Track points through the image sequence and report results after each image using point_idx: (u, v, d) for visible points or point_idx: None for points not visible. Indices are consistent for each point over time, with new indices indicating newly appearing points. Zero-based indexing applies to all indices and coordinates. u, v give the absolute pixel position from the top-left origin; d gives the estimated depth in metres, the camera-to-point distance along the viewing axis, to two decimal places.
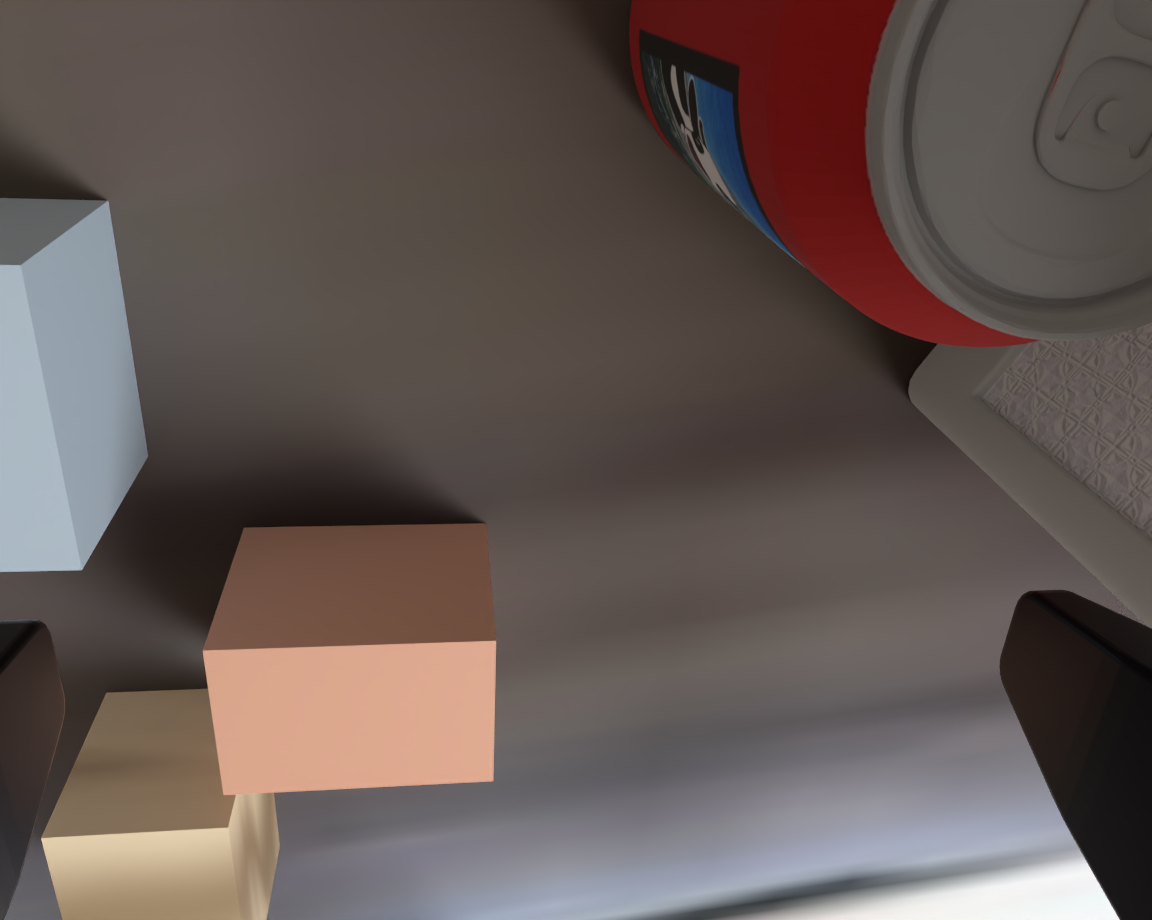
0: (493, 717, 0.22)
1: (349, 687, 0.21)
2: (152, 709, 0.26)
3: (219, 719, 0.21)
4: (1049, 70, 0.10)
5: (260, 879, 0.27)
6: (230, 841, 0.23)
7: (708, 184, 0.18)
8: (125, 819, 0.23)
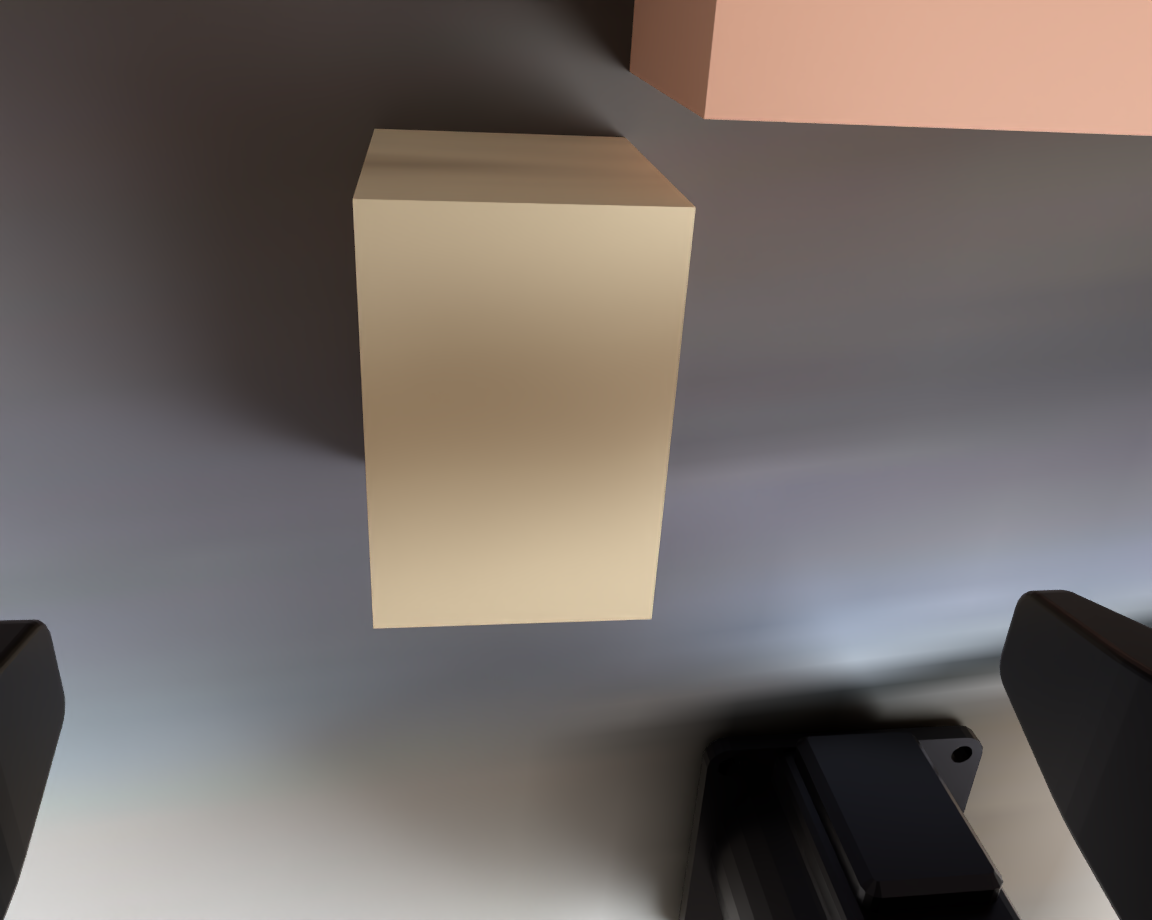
0: None
1: None
2: (462, 139, 0.15)
3: None
4: None
5: None
6: (688, 249, 0.12)
7: None
8: (498, 194, 0.12)
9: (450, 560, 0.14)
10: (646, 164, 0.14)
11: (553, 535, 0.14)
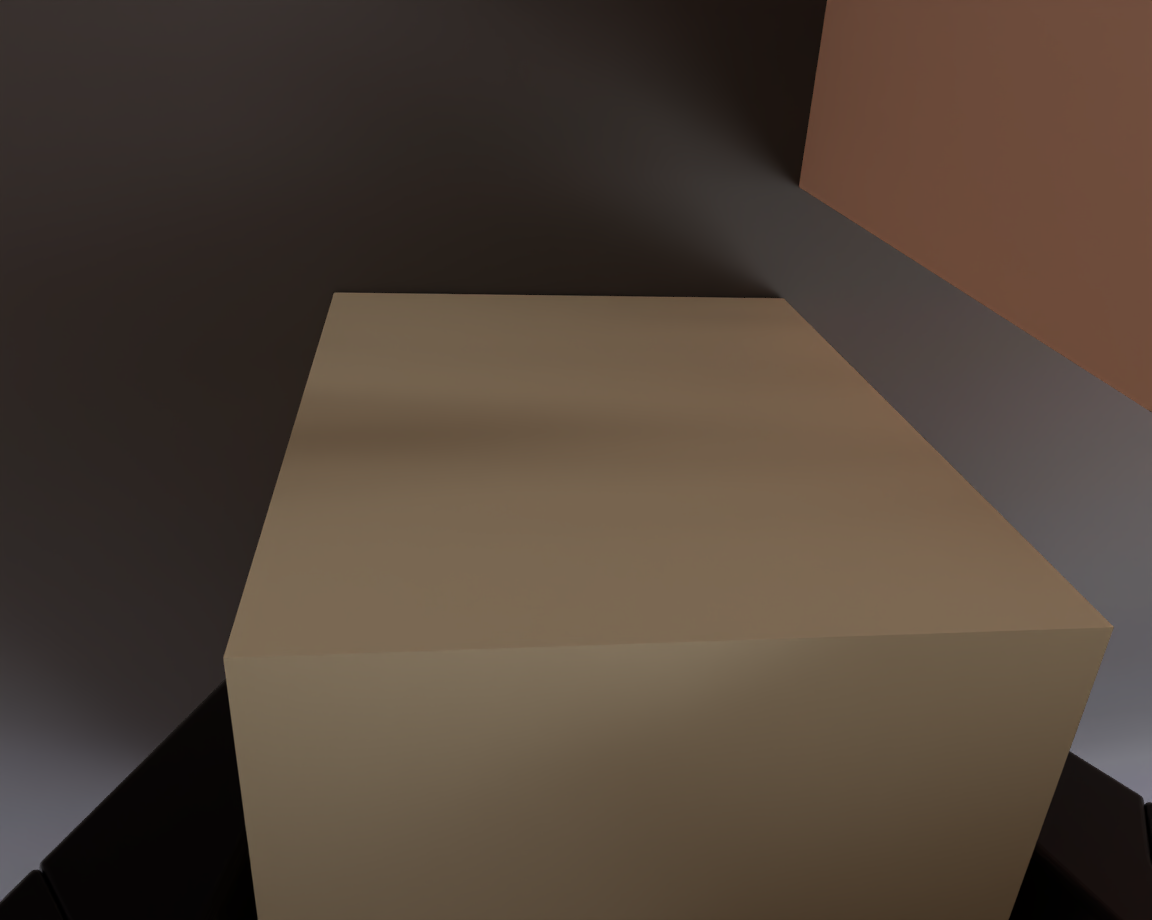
0: None
1: None
2: (497, 327, 0.08)
3: None
4: None
5: None
6: (1073, 707, 0.05)
7: None
8: (607, 591, 0.05)
9: None
10: (877, 404, 0.07)
11: None
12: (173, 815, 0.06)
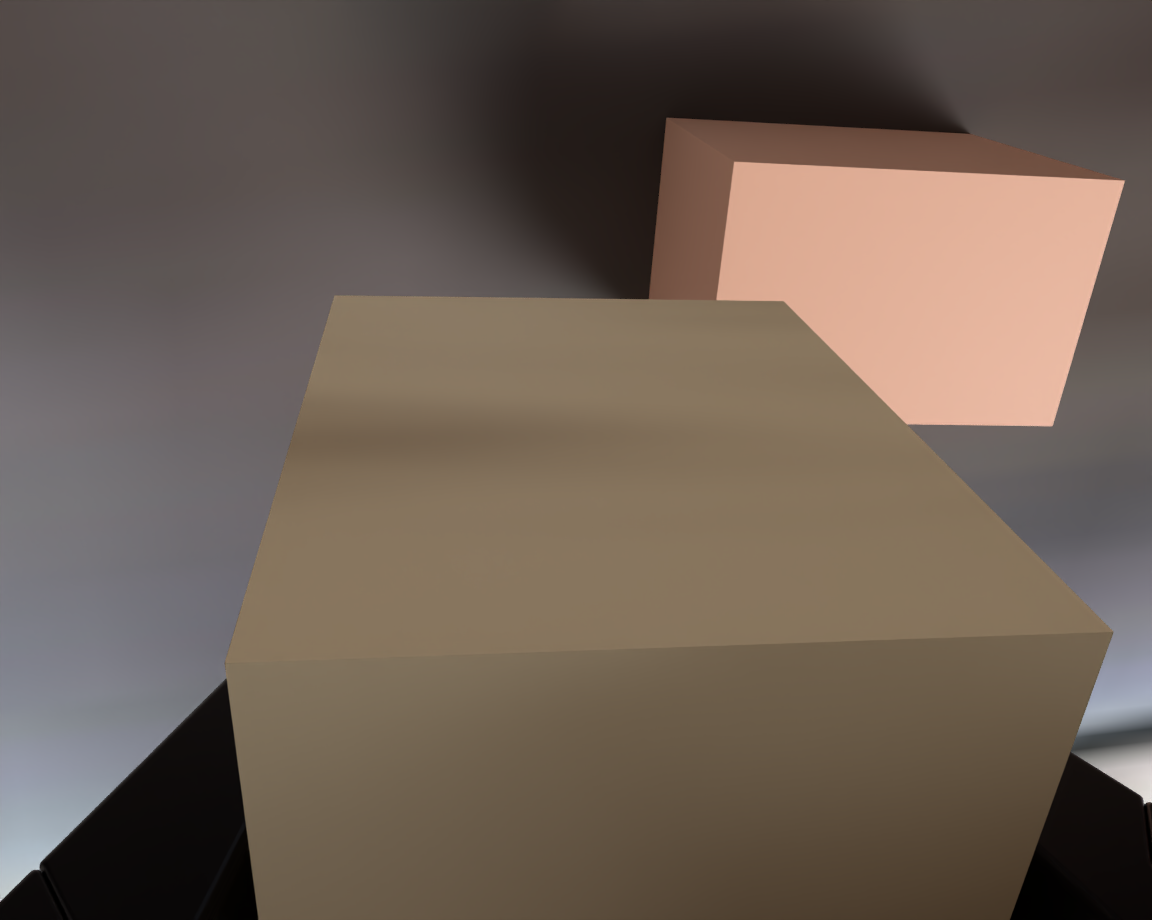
0: (1083, 316, 0.16)
1: (910, 247, 0.15)
2: (497, 330, 0.08)
3: (727, 288, 0.15)
4: None
5: None
6: (1072, 711, 0.05)
7: None
8: (607, 595, 0.05)
9: None
10: (877, 407, 0.07)
11: None
12: (173, 815, 0.06)
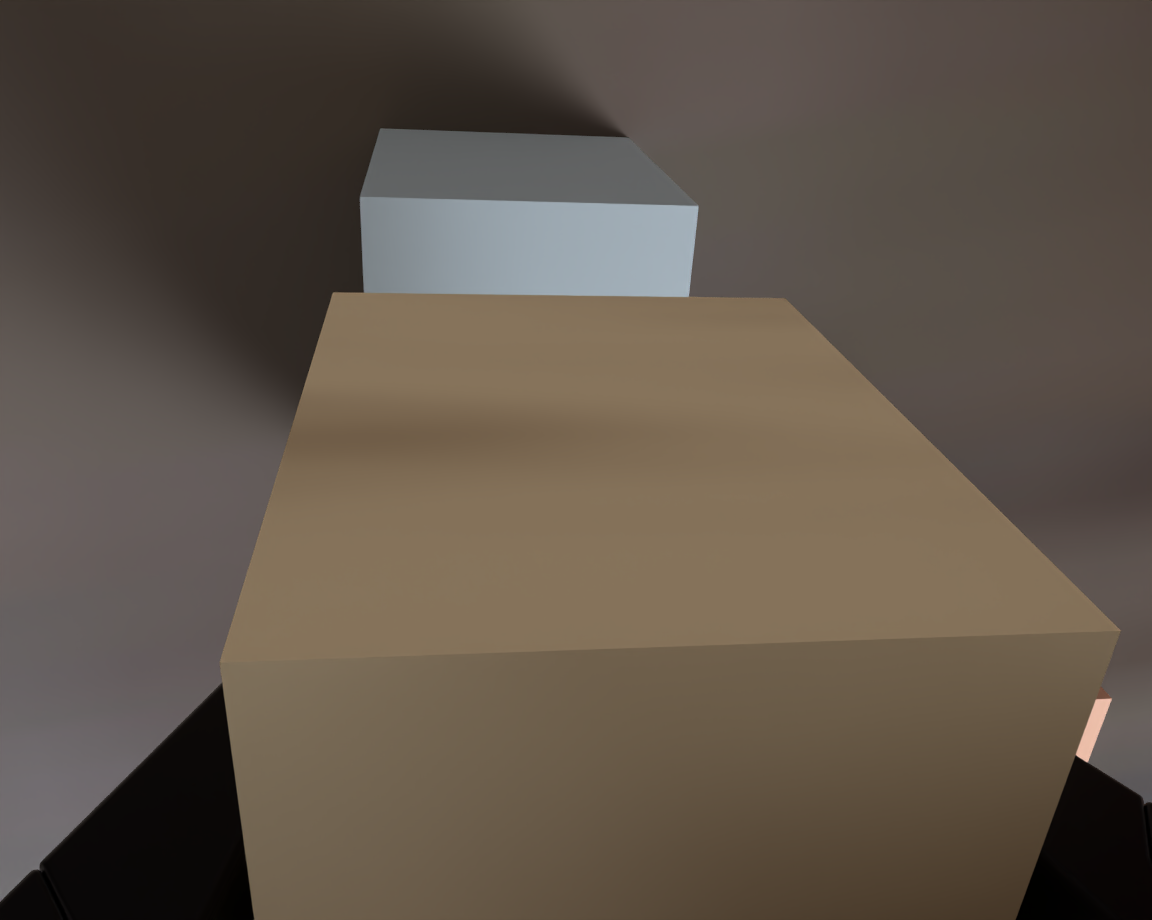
0: None
1: None
2: (496, 326, 0.08)
3: None
4: None
5: None
6: (1078, 712, 0.05)
7: None
8: (608, 593, 0.05)
9: None
10: (880, 404, 0.07)
11: None
12: (173, 815, 0.06)
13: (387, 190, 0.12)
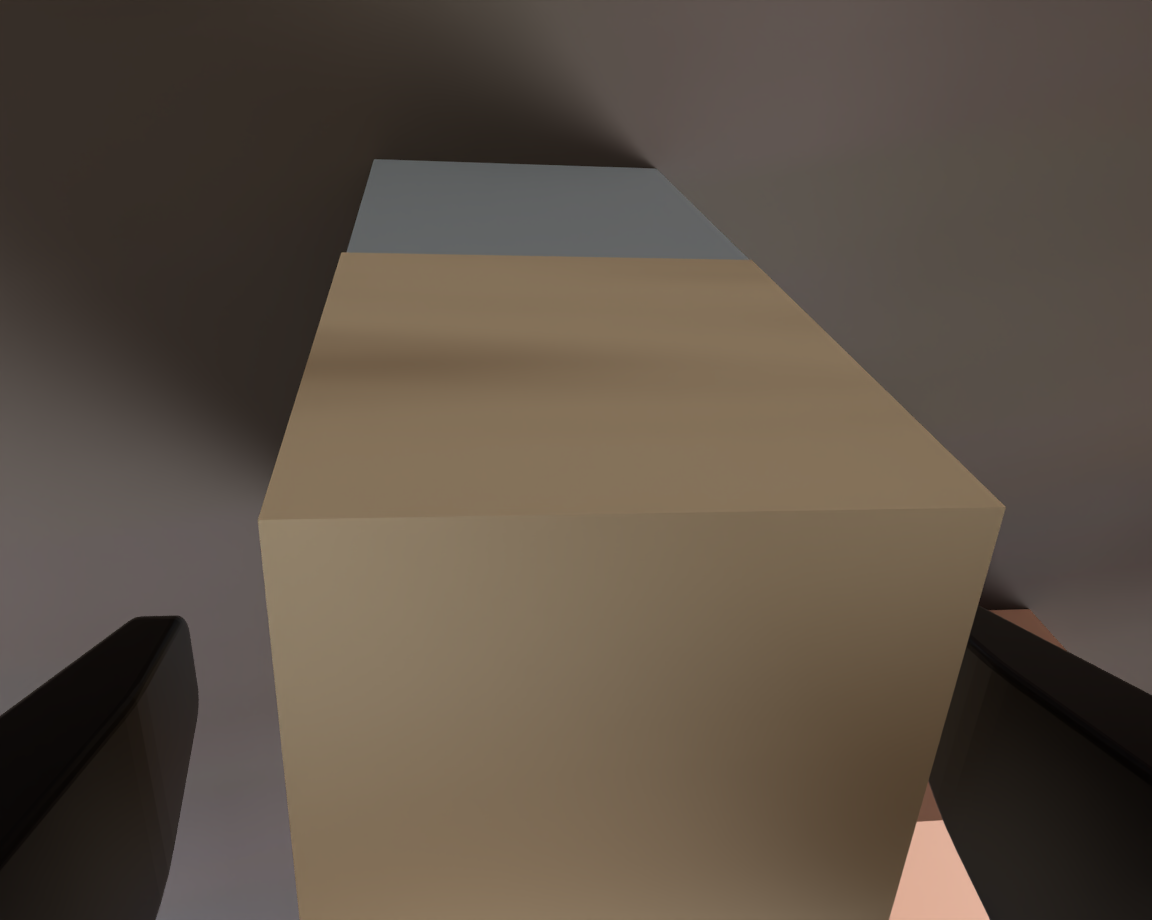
0: None
1: None
2: (487, 281, 0.09)
3: None
4: None
5: None
6: (976, 579, 0.06)
7: None
8: (577, 477, 0.06)
9: None
10: (826, 343, 0.08)
11: None
12: None
13: (379, 246, 0.10)
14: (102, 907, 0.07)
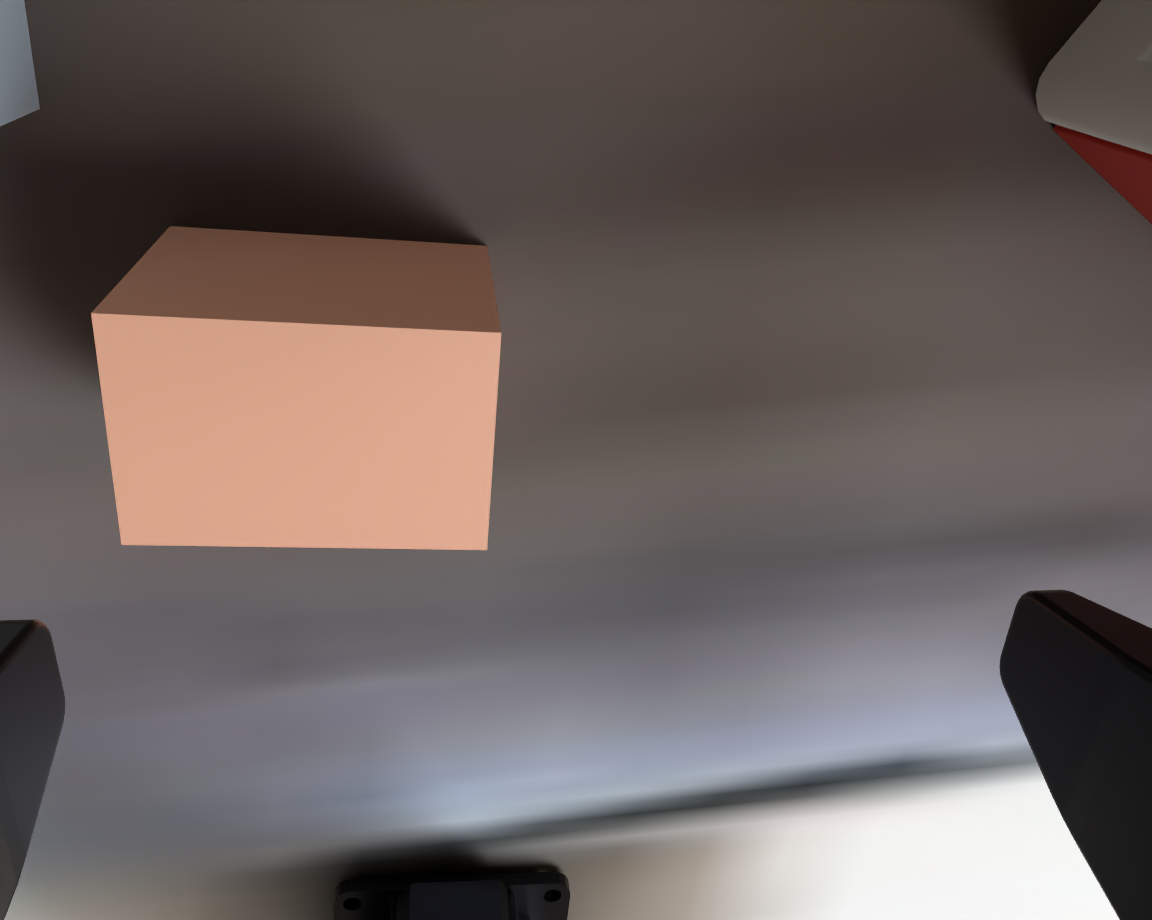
0: (491, 452, 0.16)
1: (296, 391, 0.15)
2: None
3: (115, 425, 0.15)
4: None
5: None
6: None
7: None
8: None
9: None
10: None
11: None
12: None
13: None
14: None
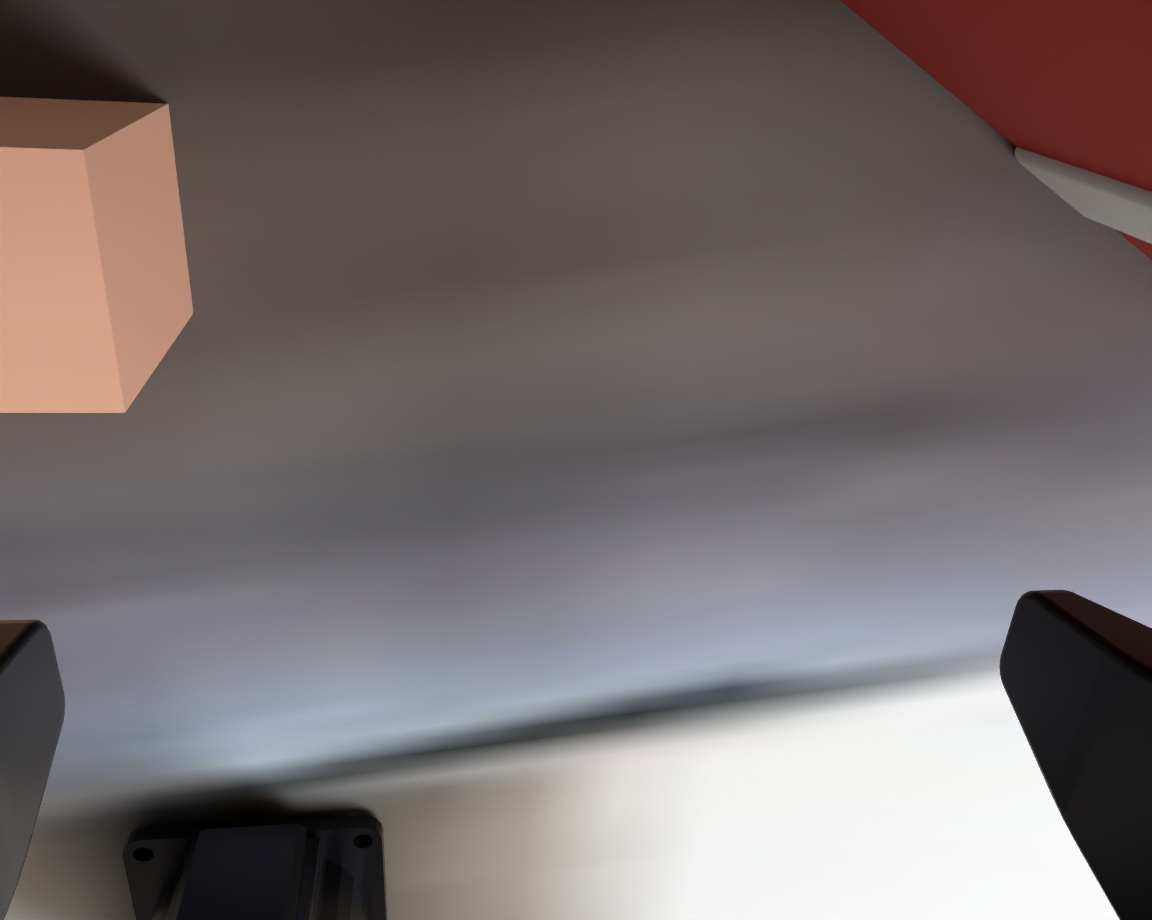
0: (104, 295, 0.15)
1: None
2: None
3: None
4: None
5: None
6: None
7: None
8: None
9: None
10: None
11: None
12: None
13: None
14: None
